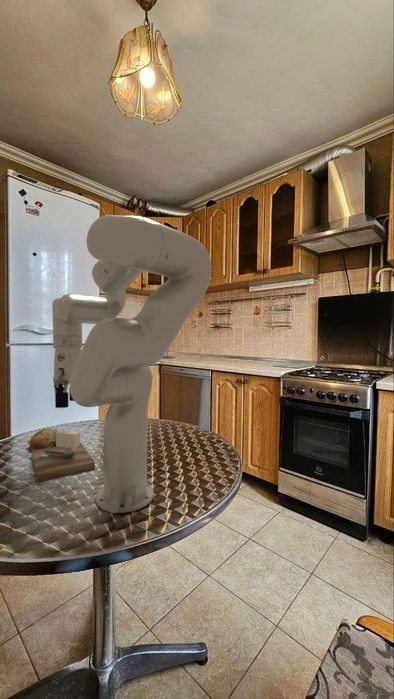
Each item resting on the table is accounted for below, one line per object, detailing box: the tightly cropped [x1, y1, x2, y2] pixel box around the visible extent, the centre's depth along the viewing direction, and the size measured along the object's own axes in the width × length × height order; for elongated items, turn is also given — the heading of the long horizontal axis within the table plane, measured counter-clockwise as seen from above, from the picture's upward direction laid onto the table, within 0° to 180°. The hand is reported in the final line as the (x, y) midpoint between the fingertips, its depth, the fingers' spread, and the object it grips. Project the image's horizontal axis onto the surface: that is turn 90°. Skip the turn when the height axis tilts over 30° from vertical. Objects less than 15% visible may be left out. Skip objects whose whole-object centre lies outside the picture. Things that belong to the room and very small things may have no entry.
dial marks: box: [40, 448, 76, 457], centre depth 89 cm, size 4×11×1 cm, turn 139°
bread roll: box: [27, 428, 58, 452], centre depth 98 cm, size 10×10×8 cm
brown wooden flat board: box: [31, 441, 96, 483], centre depth 86 cm, size 18×14×2 cm
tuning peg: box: [44, 429, 81, 458], centre depth 86 cm, size 11×3×7 cm, turn 74°
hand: (69, 403), depth 84 cm, fingers open, 9 cm apart
